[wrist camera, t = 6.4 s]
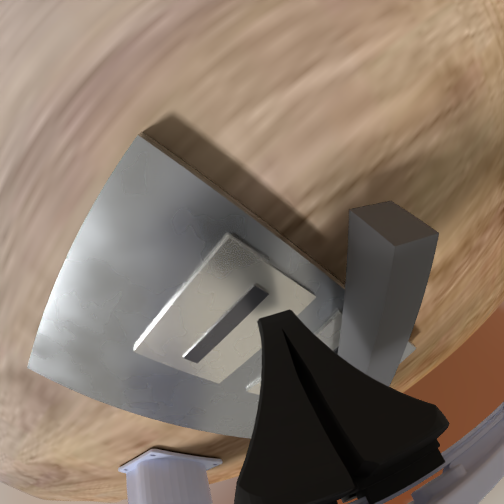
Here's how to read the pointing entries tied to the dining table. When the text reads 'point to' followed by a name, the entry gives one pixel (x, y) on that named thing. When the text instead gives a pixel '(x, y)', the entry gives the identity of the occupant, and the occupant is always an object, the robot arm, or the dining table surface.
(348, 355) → the cable arm
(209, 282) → the plate
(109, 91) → the dining table surface
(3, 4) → the dining table surface
